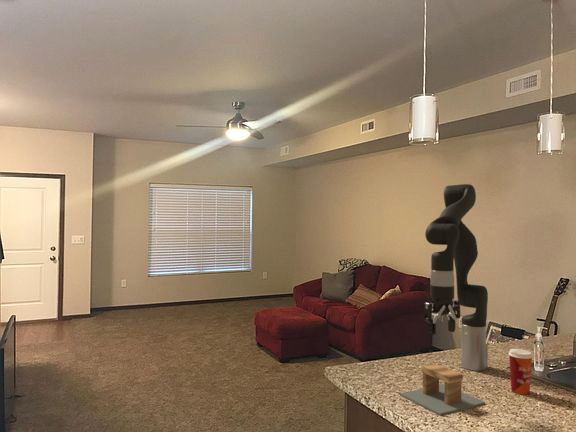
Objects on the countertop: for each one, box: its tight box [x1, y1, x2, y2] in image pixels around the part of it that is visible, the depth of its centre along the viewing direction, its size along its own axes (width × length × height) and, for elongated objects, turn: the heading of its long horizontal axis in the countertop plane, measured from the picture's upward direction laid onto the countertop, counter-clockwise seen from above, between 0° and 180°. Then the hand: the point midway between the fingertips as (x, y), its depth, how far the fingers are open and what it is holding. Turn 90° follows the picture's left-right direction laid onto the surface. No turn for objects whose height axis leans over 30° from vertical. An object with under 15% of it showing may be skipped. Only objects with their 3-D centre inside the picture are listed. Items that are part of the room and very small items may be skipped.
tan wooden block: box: [421, 363, 464, 405], centre depth 152 cm, size 12×6×9 cm, turn 27°
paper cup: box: [508, 348, 534, 396], centre depth 160 cm, size 8×8×14 cm
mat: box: [399, 383, 486, 416], centre depth 152 cm, size 20×18×1 cm
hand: (442, 332), depth 152 cm, fingers open, 8 cm apart
